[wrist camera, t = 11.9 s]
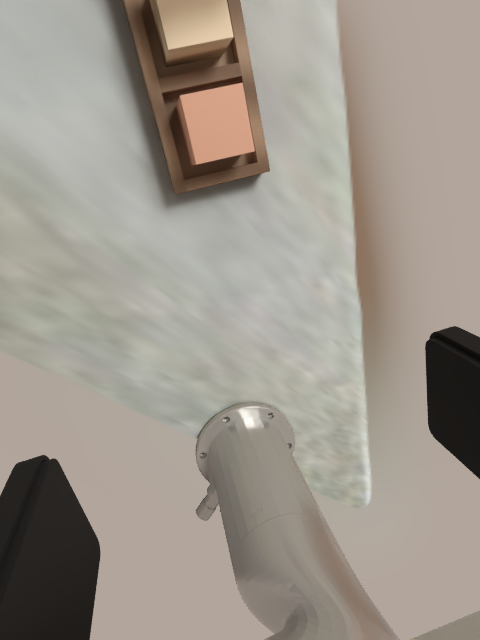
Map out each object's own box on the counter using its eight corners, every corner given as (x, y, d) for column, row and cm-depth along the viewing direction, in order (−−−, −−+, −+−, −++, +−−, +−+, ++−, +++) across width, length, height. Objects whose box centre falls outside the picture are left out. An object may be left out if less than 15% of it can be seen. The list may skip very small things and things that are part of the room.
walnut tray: (262, 171, 39) (281, 170, 33) (174, 193, 38) (179, 195, 32) (199, -178, 29) (210, -261, 24) (78, -163, 28) (61, -246, 22)
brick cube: (241, 154, 37) (254, 151, 32) (190, 166, 36) (196, 164, 31) (230, 95, 35) (242, 82, 30) (175, 106, 34) (180, 95, 30)
